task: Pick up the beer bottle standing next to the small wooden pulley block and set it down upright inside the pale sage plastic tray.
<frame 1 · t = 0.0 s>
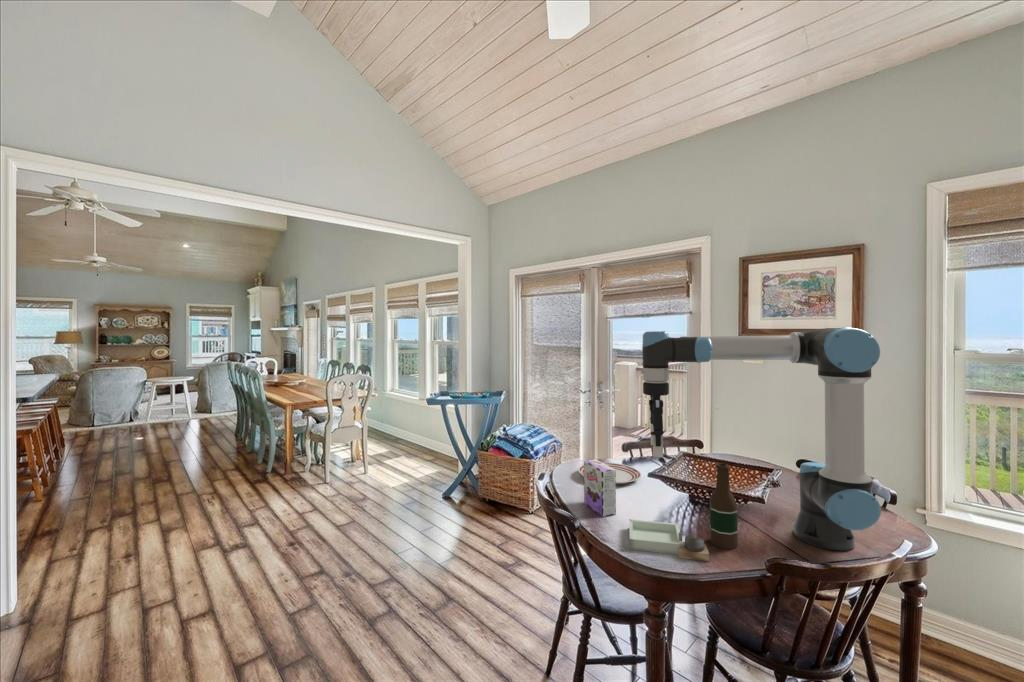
hand: (656, 450, 131), 28 cm above the table, fingers open, 13 cm apart
dinner plate: (609, 478, 191), on the table
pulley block: (692, 554, 124), on the table
candy box: (599, 509, 157), on the table
beer bottle: (723, 544, 130), on the table
tray: (654, 540, 132), on the table
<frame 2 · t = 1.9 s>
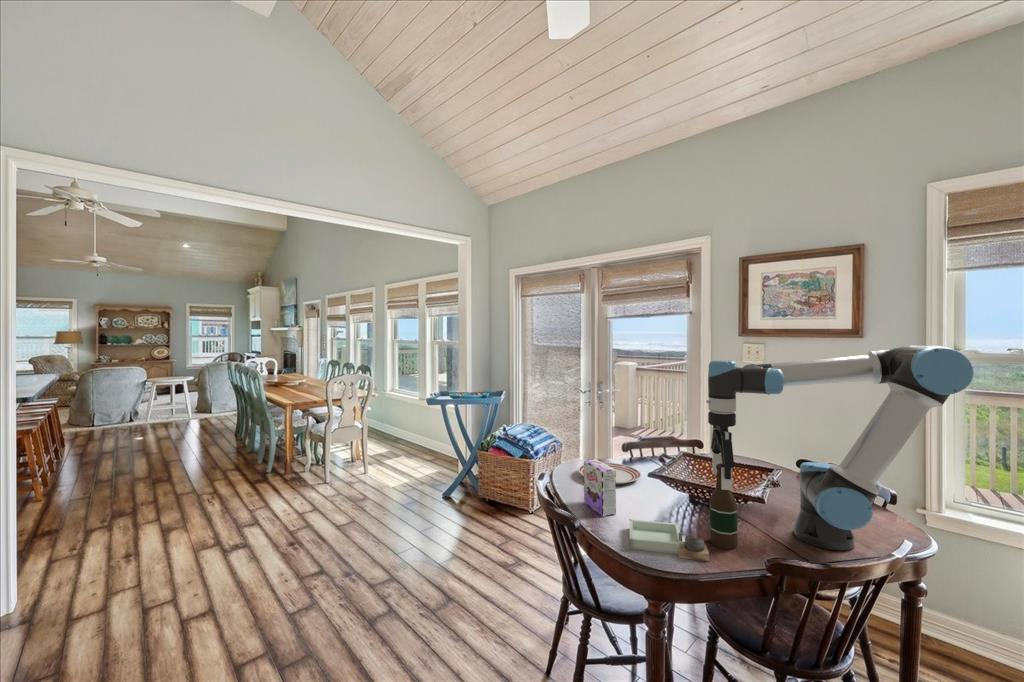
hand: (721, 481, 130), 19 cm above the table, fingers open, 13 cm apart
nothing on the table moved.
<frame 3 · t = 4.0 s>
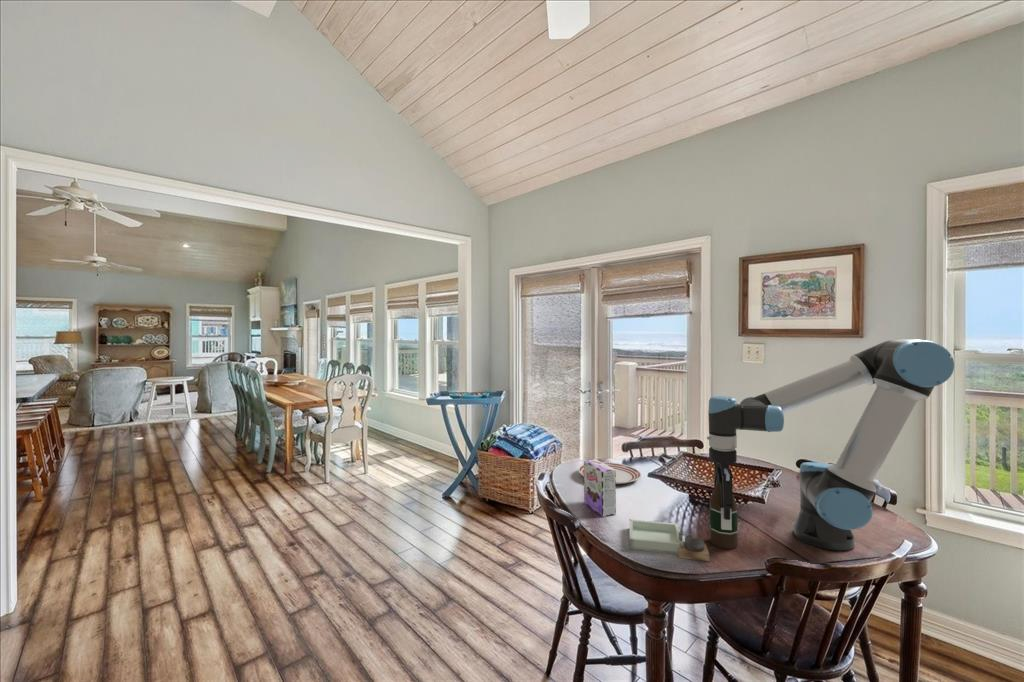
hand: (723, 523, 130), 6 cm above the table, fingers closed on beer bottle, 7 cm apart
beer bottle: (723, 544, 130), on the table, touching gripper
everything else where it was.
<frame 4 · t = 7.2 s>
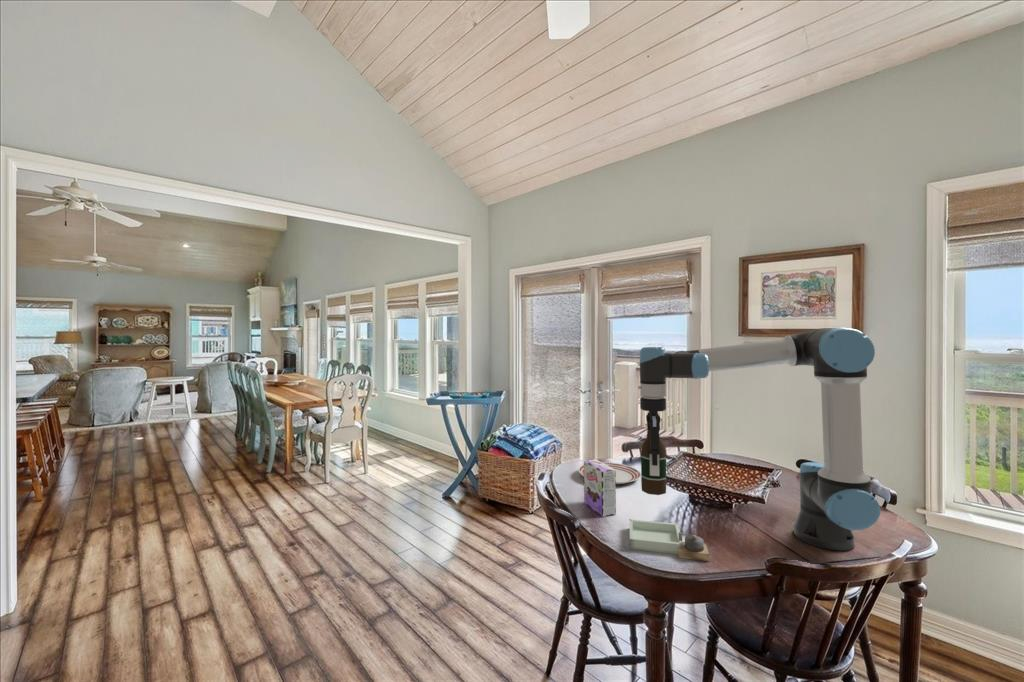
hand: (653, 471, 132), 22 cm above the table, fingers closed on beer bottle, 7 cm apart
beer bottle: (653, 491, 132), point 15 cm above the table, touching gripper
everything else where it was.
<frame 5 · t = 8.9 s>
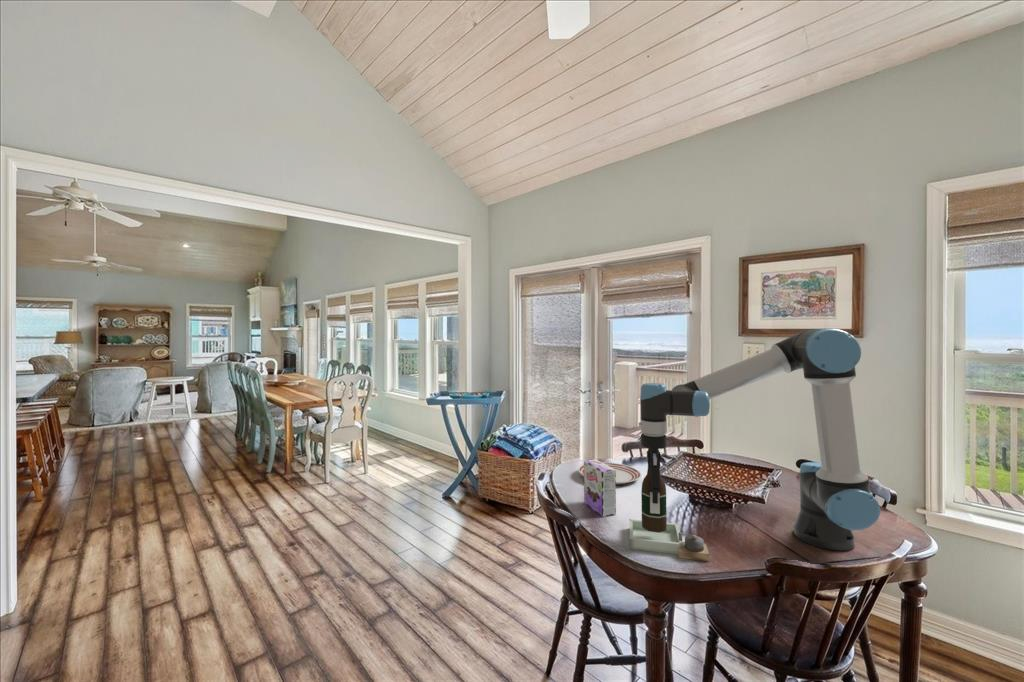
hand: (654, 507, 132), 10 cm above the table, fingers closed on beer bottle, 7 cm apart
beer bottle: (654, 527, 132), point 4 cm above the table, touching gripper
everything else where it was.
when the fingers open (8 cm above the table, at t = 10.4 s): beer bottle stays where it is, resting on tray.
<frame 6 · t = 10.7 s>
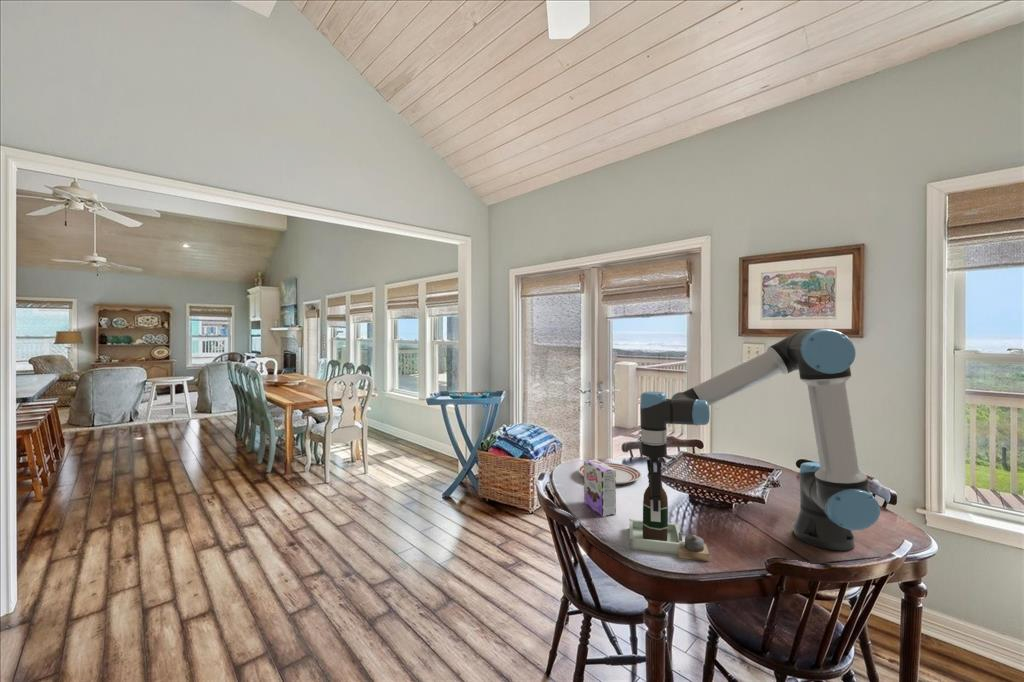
hand: (654, 512, 132), 9 cm above the table, fingers open, 11 cm apart
beer bottle: (654, 539, 132), resting on tray
everything else where it was.
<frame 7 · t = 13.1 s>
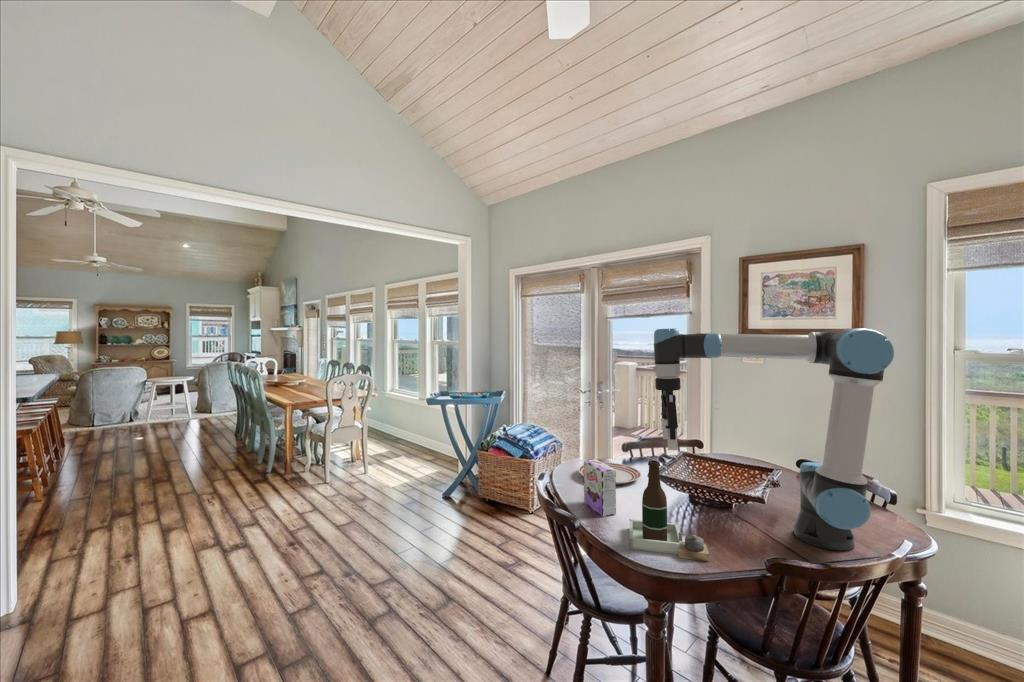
hand: (669, 444, 136), 29 cm above the table, fingers open, 13 cm apart
nothing on the table moved.
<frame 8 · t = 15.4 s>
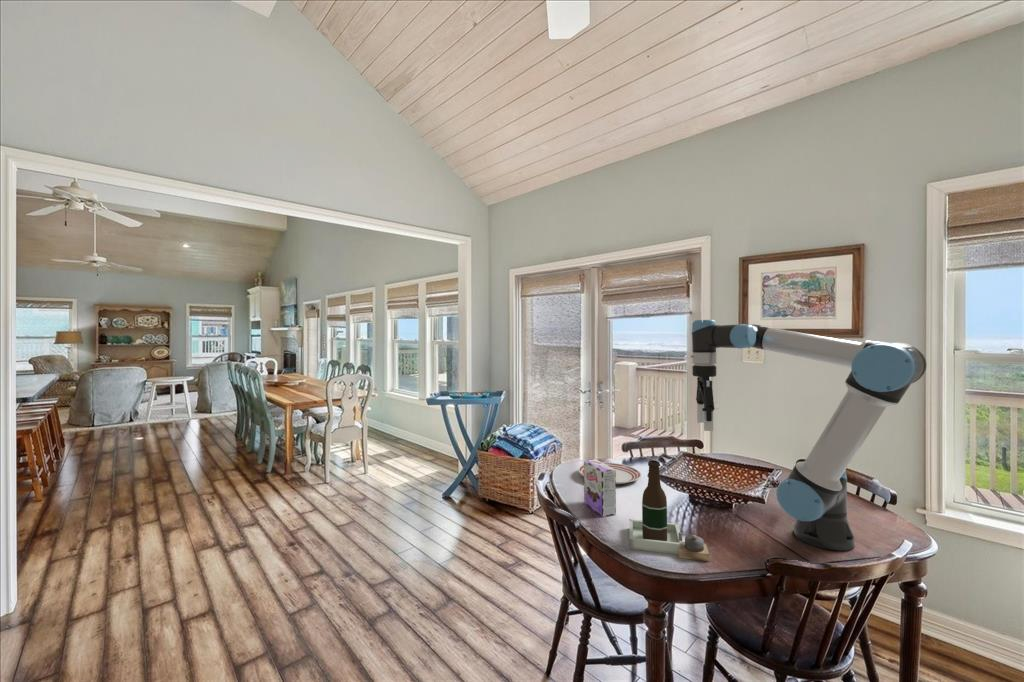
hand: (704, 426, 147), 32 cm above the table, fingers open, 13 cm apart
nothing on the table moved.
at the end: beer bottle inside the target area on the tray (0.0 cm from its centre), point 0.4 cm above the tray's base; beer bottle tilted 0°; the gripper is holding nothing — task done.
